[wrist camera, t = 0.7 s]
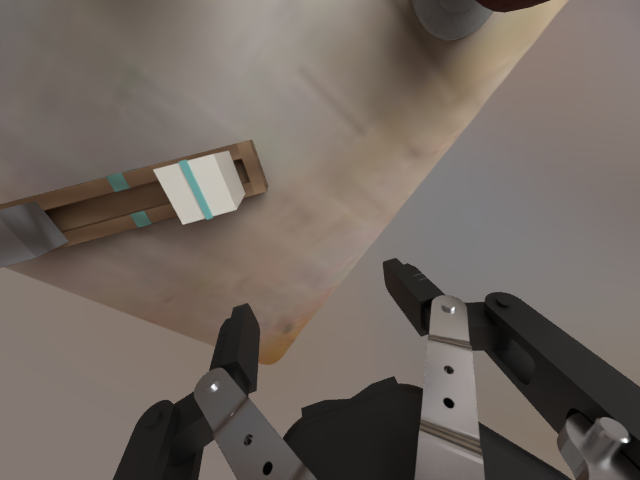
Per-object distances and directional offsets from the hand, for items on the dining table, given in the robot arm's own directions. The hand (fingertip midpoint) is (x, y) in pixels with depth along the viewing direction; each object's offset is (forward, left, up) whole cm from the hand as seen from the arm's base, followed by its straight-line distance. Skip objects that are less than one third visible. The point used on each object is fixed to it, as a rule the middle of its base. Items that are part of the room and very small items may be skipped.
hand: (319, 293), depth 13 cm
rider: (-6, -8, -20) cm, 22 cm away
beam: (-6, -18, -22) cm, 29 cm away
